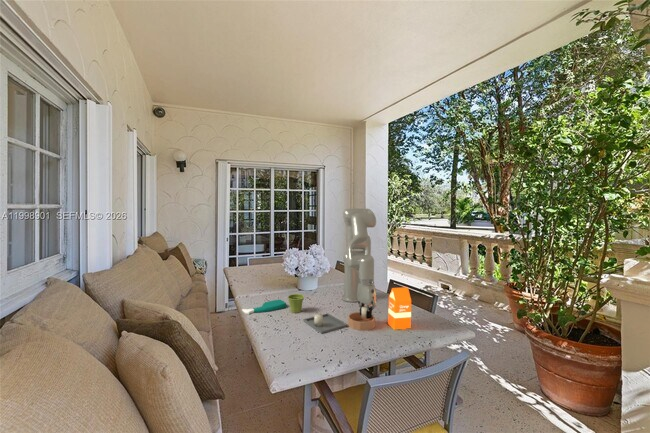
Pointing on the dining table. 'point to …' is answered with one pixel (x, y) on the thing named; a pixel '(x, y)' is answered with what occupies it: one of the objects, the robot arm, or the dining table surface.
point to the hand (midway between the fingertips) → (365, 316)
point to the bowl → (360, 322)
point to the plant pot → (295, 302)
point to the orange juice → (399, 308)
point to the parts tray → (326, 323)
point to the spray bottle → (267, 307)
